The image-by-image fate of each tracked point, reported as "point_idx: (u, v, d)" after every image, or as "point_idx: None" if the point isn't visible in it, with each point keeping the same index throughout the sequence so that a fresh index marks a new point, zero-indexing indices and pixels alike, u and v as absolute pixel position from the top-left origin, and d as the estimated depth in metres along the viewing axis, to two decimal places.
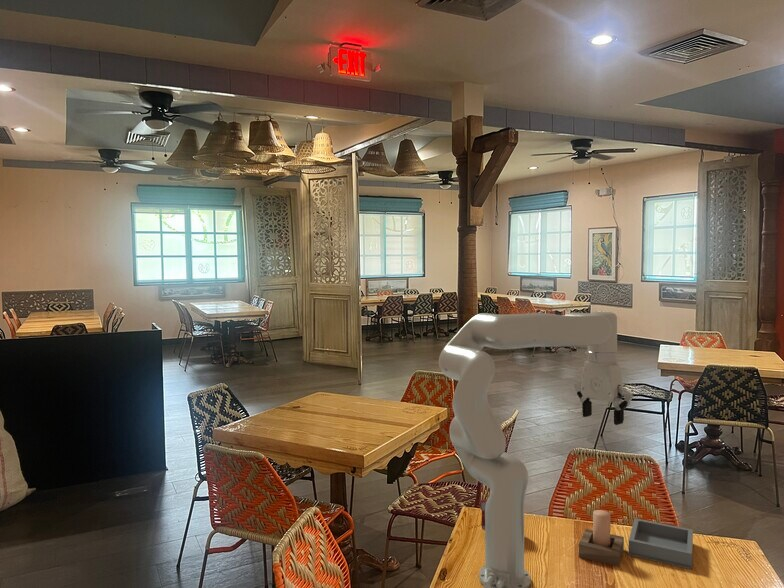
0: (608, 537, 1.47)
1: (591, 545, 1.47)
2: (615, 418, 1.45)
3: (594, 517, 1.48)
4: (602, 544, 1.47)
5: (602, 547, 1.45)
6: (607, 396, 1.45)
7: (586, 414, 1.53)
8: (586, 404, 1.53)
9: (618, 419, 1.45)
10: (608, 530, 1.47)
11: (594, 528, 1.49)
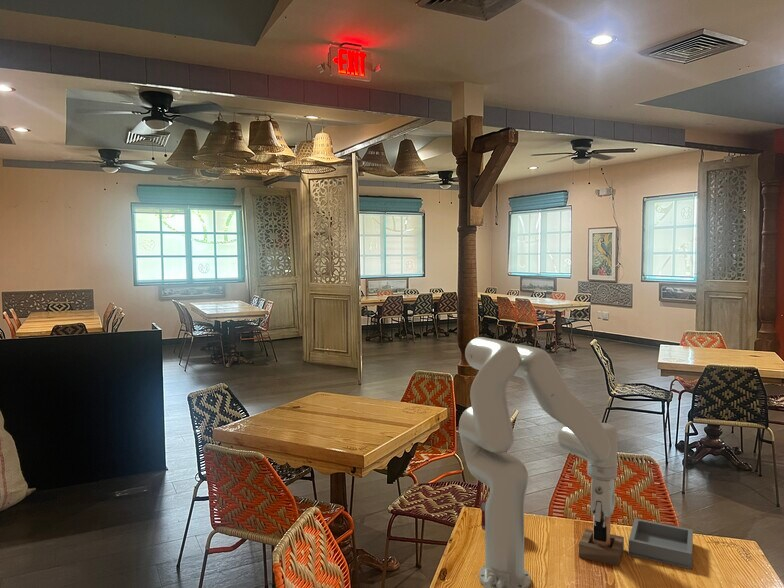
0: (608, 537, 1.47)
1: (591, 545, 1.47)
2: None
3: None
4: (602, 544, 1.47)
5: (602, 547, 1.45)
6: (614, 502, 1.50)
7: None
8: None
9: None
10: (608, 530, 1.47)
11: None
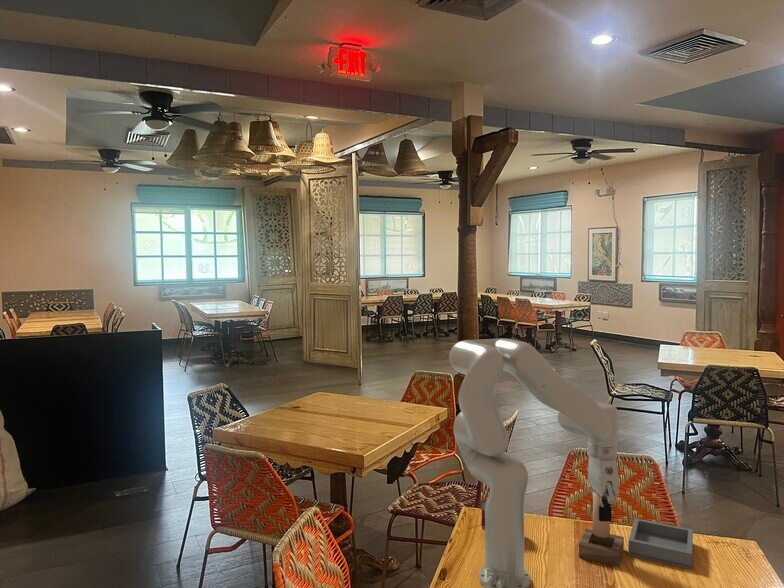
0: None
1: (591, 545, 1.47)
2: None
3: (597, 499, 1.47)
4: (606, 524, 1.47)
5: (602, 547, 1.45)
6: None
7: None
8: None
9: None
10: None
11: (597, 510, 1.47)
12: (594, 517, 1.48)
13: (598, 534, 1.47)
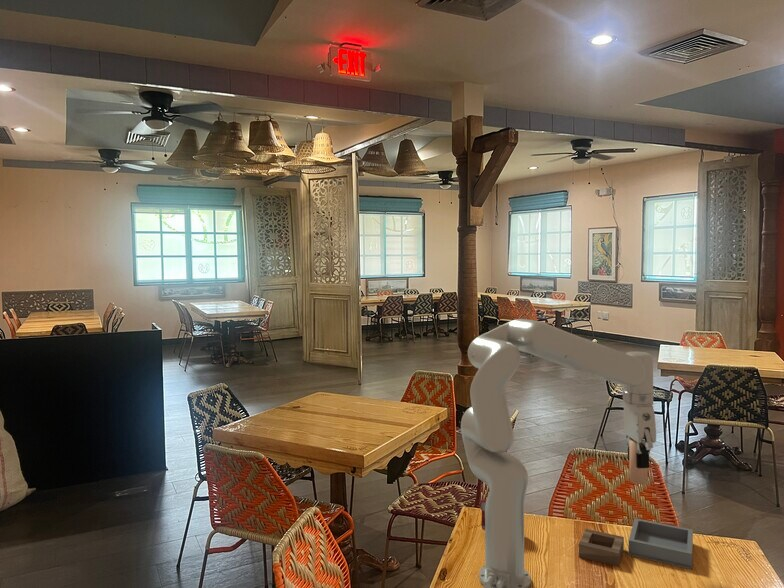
0: None
1: (591, 545, 1.47)
2: None
3: (634, 446, 1.48)
4: (644, 470, 1.47)
5: (602, 547, 1.45)
6: None
7: None
8: None
9: None
10: None
11: (634, 457, 1.48)
12: (631, 465, 1.49)
13: (636, 481, 1.48)
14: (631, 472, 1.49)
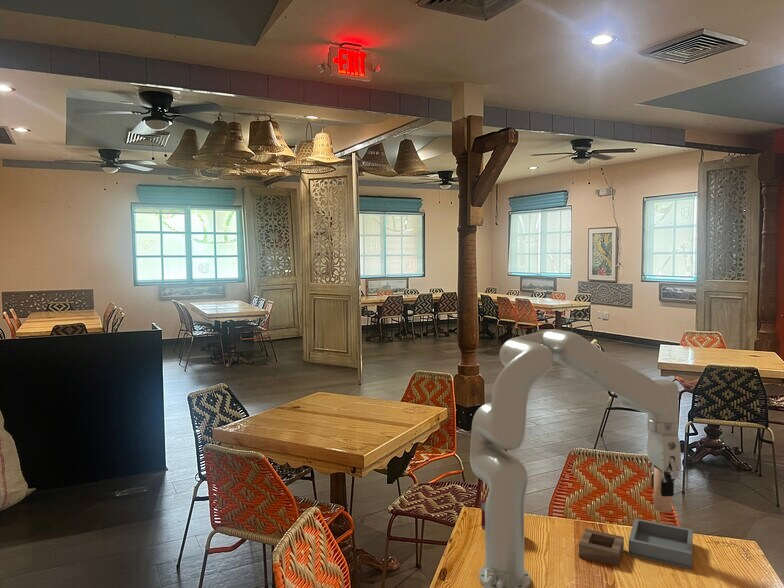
0: None
1: (591, 545, 1.47)
2: None
3: (659, 474, 1.49)
4: (668, 498, 1.48)
5: (602, 547, 1.45)
6: None
7: None
8: None
9: None
10: None
11: (659, 485, 1.49)
12: (656, 492, 1.50)
13: (660, 509, 1.49)
14: (655, 500, 1.50)
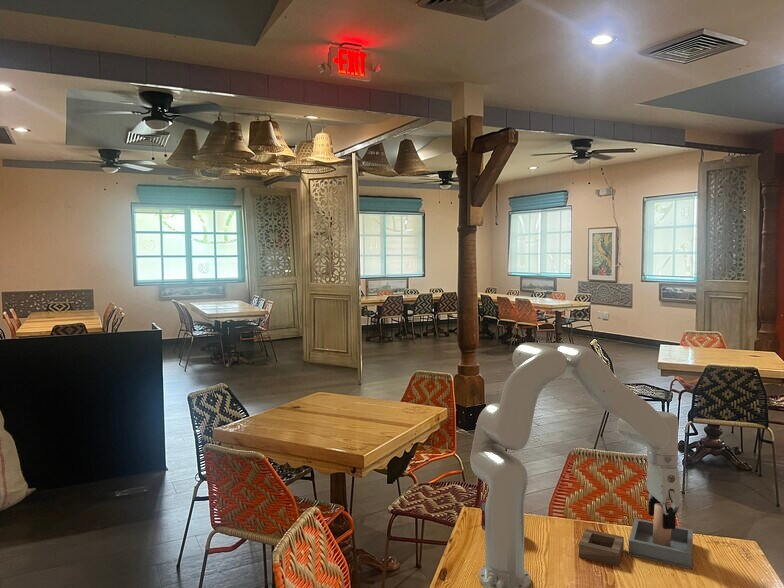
0: None
1: (591, 545, 1.47)
2: None
3: (659, 511, 1.49)
4: (668, 536, 1.49)
5: (602, 547, 1.45)
6: None
7: None
8: None
9: None
10: None
11: (659, 522, 1.49)
12: (655, 529, 1.50)
13: None
14: (655, 537, 1.50)
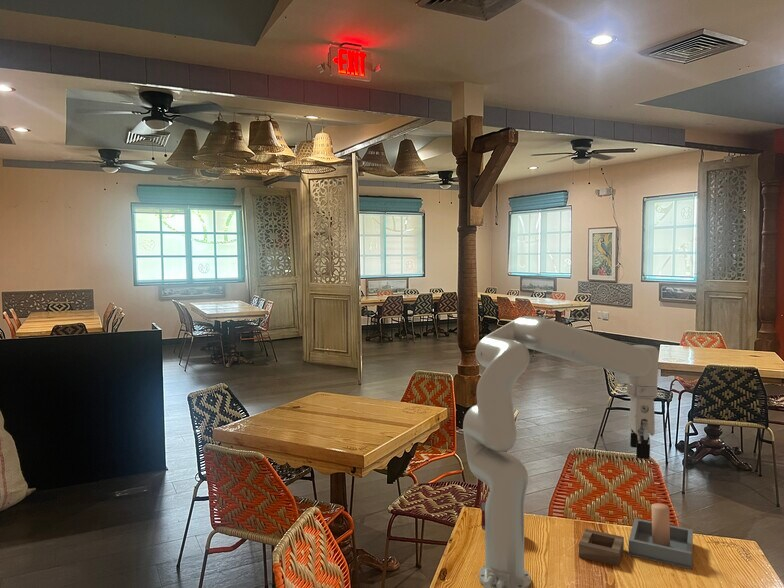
0: (669, 528, 1.50)
1: (591, 545, 1.47)
2: None
3: (657, 512, 1.49)
4: (667, 536, 1.49)
5: (602, 547, 1.45)
6: None
7: None
8: None
9: None
10: (669, 521, 1.50)
11: (657, 523, 1.49)
12: (654, 530, 1.50)
13: None
14: (654, 537, 1.50)
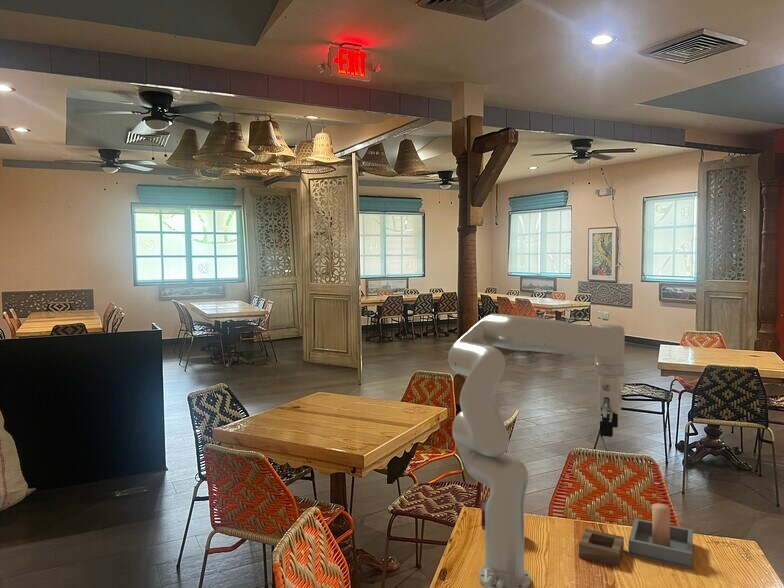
0: None
1: (591, 545, 1.47)
2: None
3: (658, 512, 1.49)
4: (667, 536, 1.49)
5: (602, 547, 1.45)
6: (621, 402, 1.53)
7: None
8: None
9: None
10: (669, 521, 1.50)
11: (658, 523, 1.49)
12: (654, 530, 1.50)
13: None
14: (654, 537, 1.50)
